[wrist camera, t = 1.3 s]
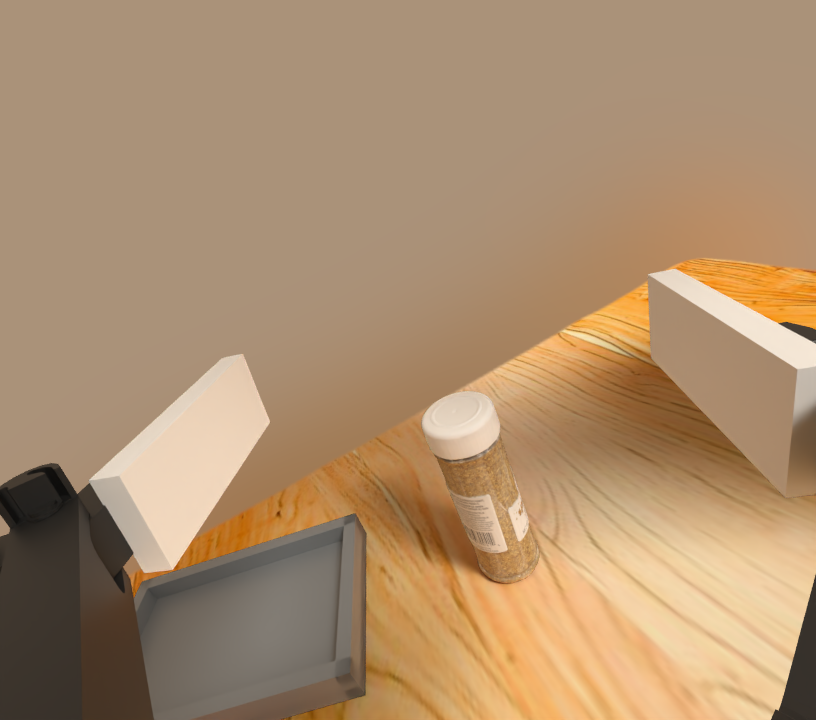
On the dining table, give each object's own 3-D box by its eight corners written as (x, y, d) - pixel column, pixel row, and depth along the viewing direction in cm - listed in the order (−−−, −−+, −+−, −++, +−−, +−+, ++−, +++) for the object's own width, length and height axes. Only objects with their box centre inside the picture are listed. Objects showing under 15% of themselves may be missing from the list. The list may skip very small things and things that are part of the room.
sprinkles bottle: (554, 556, 33) (509, 402, 27) (506, 599, 32) (447, 446, 26) (510, 521, 37) (462, 380, 31) (465, 558, 35) (405, 417, 29)
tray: (366, 533, 41) (355, 513, 40) (365, 695, 29) (349, 672, 28) (158, 599, 43) (142, 581, 41) (79, 777, 31) (53, 759, 30)
